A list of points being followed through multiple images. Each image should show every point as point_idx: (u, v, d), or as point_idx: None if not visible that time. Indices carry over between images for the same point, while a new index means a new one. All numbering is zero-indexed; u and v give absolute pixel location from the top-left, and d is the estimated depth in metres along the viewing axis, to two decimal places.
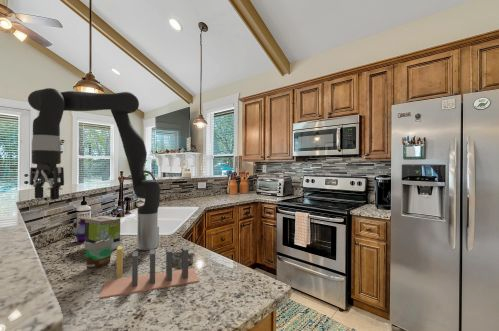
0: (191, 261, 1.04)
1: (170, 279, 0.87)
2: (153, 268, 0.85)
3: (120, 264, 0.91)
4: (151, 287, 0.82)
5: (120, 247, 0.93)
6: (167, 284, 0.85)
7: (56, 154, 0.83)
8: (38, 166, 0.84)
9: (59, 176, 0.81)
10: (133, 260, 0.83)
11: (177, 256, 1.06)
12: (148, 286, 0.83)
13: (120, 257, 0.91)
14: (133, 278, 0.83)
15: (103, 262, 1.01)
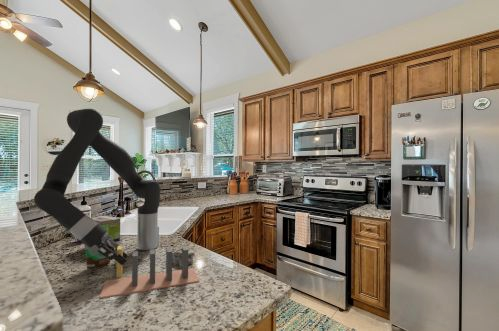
0: (191, 261, 1.05)
1: (170, 279, 0.87)
2: (153, 268, 0.85)
3: (120, 264, 0.91)
4: (151, 287, 0.82)
5: (120, 247, 0.93)
6: (167, 284, 0.85)
7: (92, 234, 0.87)
8: None
9: (107, 253, 0.87)
10: (133, 260, 0.83)
11: (176, 256, 1.06)
12: (148, 286, 0.83)
13: None
14: (133, 278, 0.83)
15: (103, 262, 1.01)
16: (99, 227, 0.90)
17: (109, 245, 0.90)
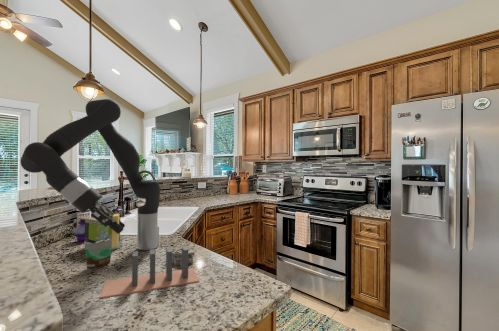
0: (192, 260, 1.05)
1: (170, 279, 0.87)
2: (153, 268, 0.85)
3: (116, 233, 0.83)
4: (151, 287, 0.82)
5: (116, 215, 0.85)
6: (167, 284, 0.85)
7: (85, 197, 0.79)
8: None
9: (102, 218, 0.78)
10: (133, 260, 0.83)
11: (176, 257, 1.06)
12: (148, 286, 0.83)
13: None
14: (133, 278, 0.83)
15: (103, 262, 1.01)
16: (93, 191, 0.81)
17: (104, 211, 0.81)
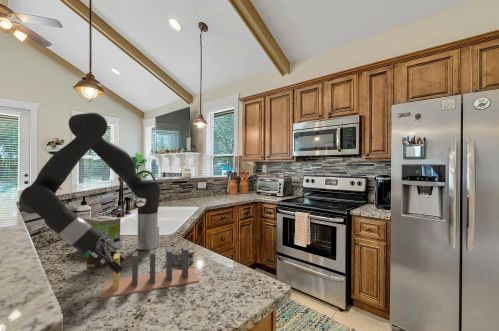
0: (192, 260, 1.06)
1: (170, 279, 0.87)
2: (153, 268, 0.85)
3: (117, 275, 0.81)
4: (151, 287, 0.82)
5: (117, 256, 0.83)
6: (167, 284, 0.85)
7: (85, 238, 0.77)
8: None
9: (99, 259, 0.75)
10: (133, 260, 0.83)
11: (176, 257, 1.05)
12: (148, 286, 0.83)
13: None
14: (133, 278, 0.83)
15: None
16: (93, 230, 0.80)
17: (103, 250, 0.79)
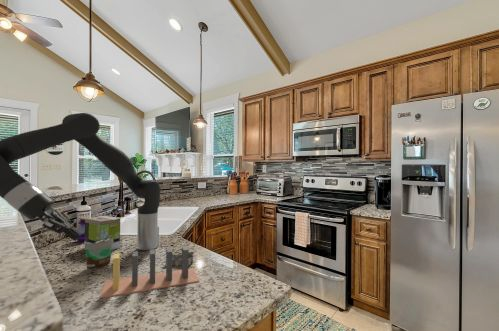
0: (192, 259, 1.07)
1: (170, 279, 0.87)
2: (153, 268, 0.85)
3: (117, 275, 0.81)
4: (151, 287, 0.82)
5: (117, 256, 0.83)
6: (167, 284, 0.85)
7: (32, 203, 0.72)
8: None
9: (55, 227, 0.73)
10: (133, 260, 0.83)
11: (176, 258, 1.05)
12: (148, 286, 0.83)
13: (117, 267, 0.81)
14: (133, 278, 0.83)
15: (103, 262, 1.01)
16: (43, 196, 0.75)
17: (57, 218, 0.76)
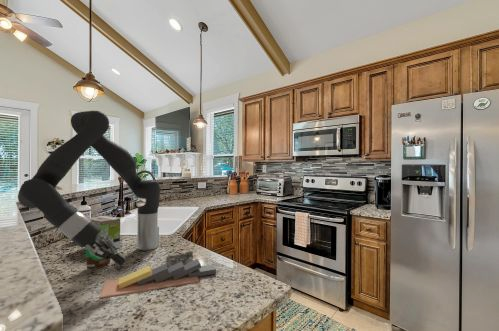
0: (192, 259, 1.07)
1: (174, 278, 0.88)
2: (170, 275, 0.87)
3: (134, 281, 0.83)
4: (151, 287, 0.82)
5: None
6: (167, 284, 0.85)
7: (84, 232, 0.77)
8: None
9: (105, 255, 0.78)
10: (163, 271, 0.86)
11: (176, 258, 1.04)
12: (148, 286, 0.83)
13: (142, 278, 0.84)
14: (146, 279, 0.84)
15: (103, 262, 1.01)
16: (93, 225, 0.80)
17: (105, 245, 0.81)
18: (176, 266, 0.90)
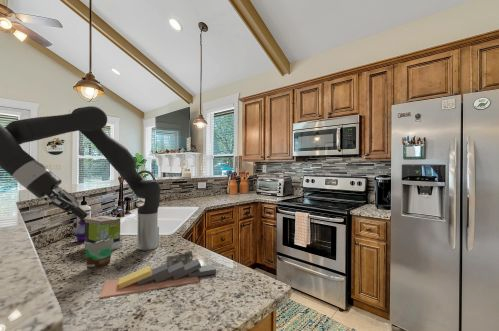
0: None
1: (174, 278, 0.88)
2: (170, 275, 0.87)
3: (134, 281, 0.83)
4: (151, 287, 0.82)
5: None
6: (167, 284, 0.85)
7: (40, 180, 0.73)
8: None
9: (63, 205, 0.74)
10: (163, 271, 0.86)
11: (176, 258, 1.04)
12: (148, 286, 0.83)
13: (142, 278, 0.84)
14: (146, 279, 0.84)
15: (103, 262, 1.01)
16: (51, 174, 0.76)
17: (65, 197, 0.76)
18: (176, 266, 0.90)
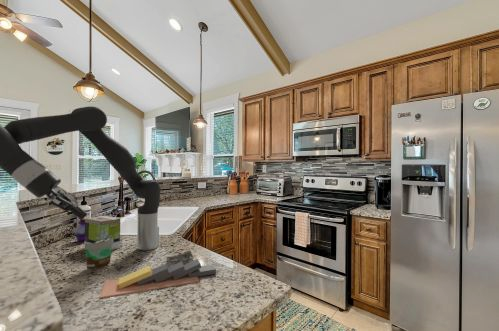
0: None
1: (174, 278, 0.88)
2: (170, 275, 0.87)
3: (134, 281, 0.83)
4: (151, 287, 0.82)
5: None
6: (167, 284, 0.85)
7: (39, 180, 0.73)
8: None
9: (62, 205, 0.74)
10: (163, 271, 0.86)
11: None
12: (148, 286, 0.83)
13: (142, 278, 0.84)
14: (146, 279, 0.84)
15: (103, 262, 1.01)
16: (50, 174, 0.76)
17: (64, 196, 0.76)
18: (176, 266, 0.90)
